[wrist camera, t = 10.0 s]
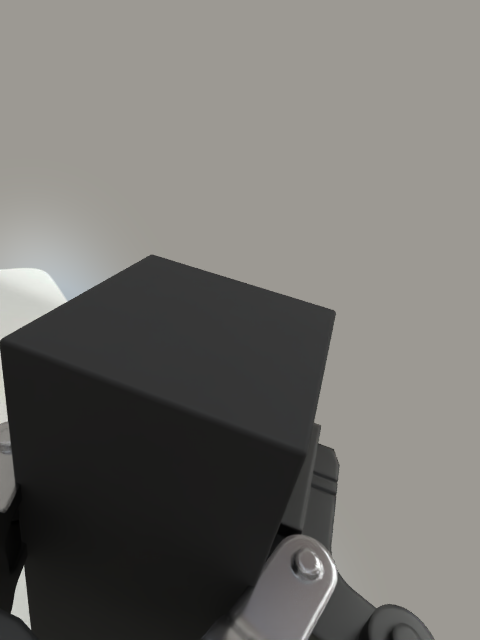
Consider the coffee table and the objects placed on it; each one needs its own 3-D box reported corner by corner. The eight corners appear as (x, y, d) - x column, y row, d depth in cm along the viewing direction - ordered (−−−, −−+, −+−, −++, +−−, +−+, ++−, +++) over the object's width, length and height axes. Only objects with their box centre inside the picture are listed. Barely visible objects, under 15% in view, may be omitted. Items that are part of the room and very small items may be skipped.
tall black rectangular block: (245, 566, 15) (336, 310, 10) (193, 745, 11) (307, 455, 5) (126, 514, 16) (151, 253, 11) (33, 660, 11) (-4, 339, 6)
